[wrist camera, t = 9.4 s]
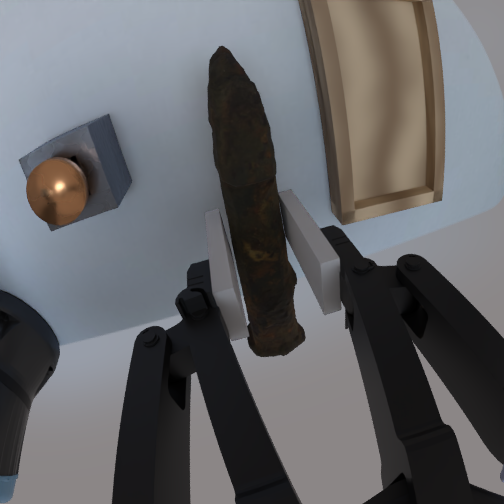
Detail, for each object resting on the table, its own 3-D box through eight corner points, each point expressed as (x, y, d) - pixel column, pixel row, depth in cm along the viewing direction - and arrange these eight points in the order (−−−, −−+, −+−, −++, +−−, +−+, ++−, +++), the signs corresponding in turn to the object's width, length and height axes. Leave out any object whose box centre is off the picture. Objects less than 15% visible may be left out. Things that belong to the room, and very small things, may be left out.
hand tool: (295, 314, 24) (311, 360, 20) (244, 324, 24) (254, 372, 20) (272, 44, 14) (299, 36, 10) (195, 53, 13) (193, 47, 9)
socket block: (72, 203, 24) (51, 231, 20) (47, 141, 21) (18, 159, 16) (132, 181, 24) (118, 207, 20) (108, 113, 21) (86, 126, 16)
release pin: (75, 193, 23) (43, 233, 18) (57, 147, 21) (16, 175, 15) (119, 176, 23) (95, 213, 18) (102, 127, 21) (68, 150, 15)
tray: (331, 211, 28) (342, 225, 26) (295, -12, 17) (305, -20, 15) (427, 189, 28) (441, 200, 26) (412, -7, 17) (429, -10, 15)
